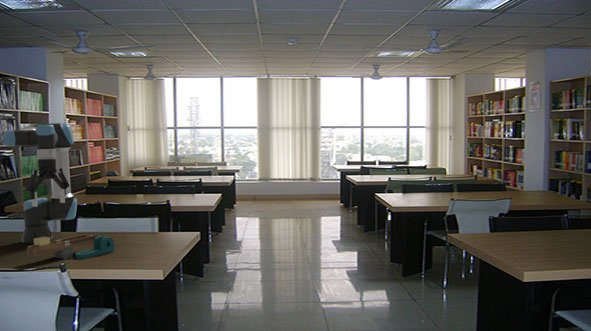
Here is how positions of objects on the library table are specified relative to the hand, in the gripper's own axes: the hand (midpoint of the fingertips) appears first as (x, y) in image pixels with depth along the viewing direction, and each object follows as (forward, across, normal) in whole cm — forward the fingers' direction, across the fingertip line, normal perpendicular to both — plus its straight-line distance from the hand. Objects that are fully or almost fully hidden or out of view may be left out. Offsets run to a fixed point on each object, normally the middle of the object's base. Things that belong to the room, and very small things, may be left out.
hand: (49, 204), depth 226 cm
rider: (+20, -4, +1) cm, 20 cm away
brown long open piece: (+26, +6, +1) cm, 27 cm away
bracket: (+26, +16, -9) cm, 32 cm away
